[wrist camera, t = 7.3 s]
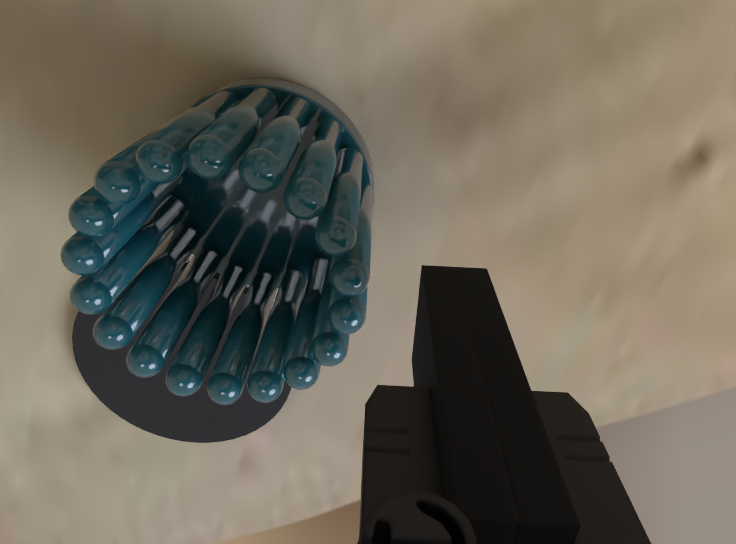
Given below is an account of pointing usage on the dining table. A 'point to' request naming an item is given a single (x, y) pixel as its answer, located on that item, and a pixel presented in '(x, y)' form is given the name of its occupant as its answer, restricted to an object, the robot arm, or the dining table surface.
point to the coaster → (152, 397)
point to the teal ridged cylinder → (231, 241)
